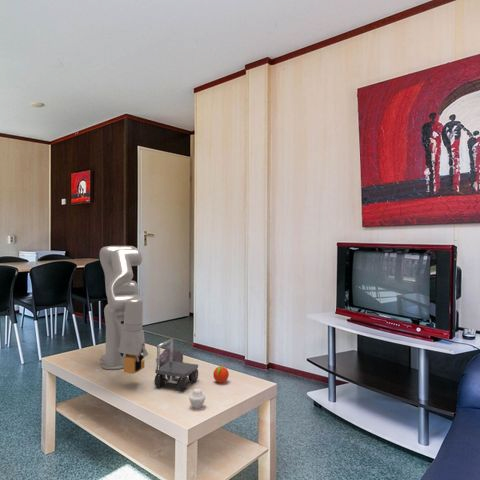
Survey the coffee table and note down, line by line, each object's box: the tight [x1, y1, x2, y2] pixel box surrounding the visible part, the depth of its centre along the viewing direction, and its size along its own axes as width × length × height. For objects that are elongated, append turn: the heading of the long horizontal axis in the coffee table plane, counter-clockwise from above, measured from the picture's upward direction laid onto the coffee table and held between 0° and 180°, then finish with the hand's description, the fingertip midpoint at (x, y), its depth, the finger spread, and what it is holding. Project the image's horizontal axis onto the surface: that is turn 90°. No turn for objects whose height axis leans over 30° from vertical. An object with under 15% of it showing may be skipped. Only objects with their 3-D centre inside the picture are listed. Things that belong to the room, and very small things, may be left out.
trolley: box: [153, 338, 199, 392], centre depth 169 cm, size 14×16×18 cm
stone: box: [155, 344, 184, 367], centre depth 194 cm, size 10×6×15 cm
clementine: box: [213, 366, 230, 383], centre depth 172 cm, size 8×7×7 cm
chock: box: [123, 355, 145, 375], centre depth 167 cm, size 5×8×6 cm, turn 161°
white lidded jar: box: [188, 388, 206, 409], centre depth 147 cm, size 6×6×7 cm
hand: (132, 368), depth 165 cm, fingers closed on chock, 5 cm apart
